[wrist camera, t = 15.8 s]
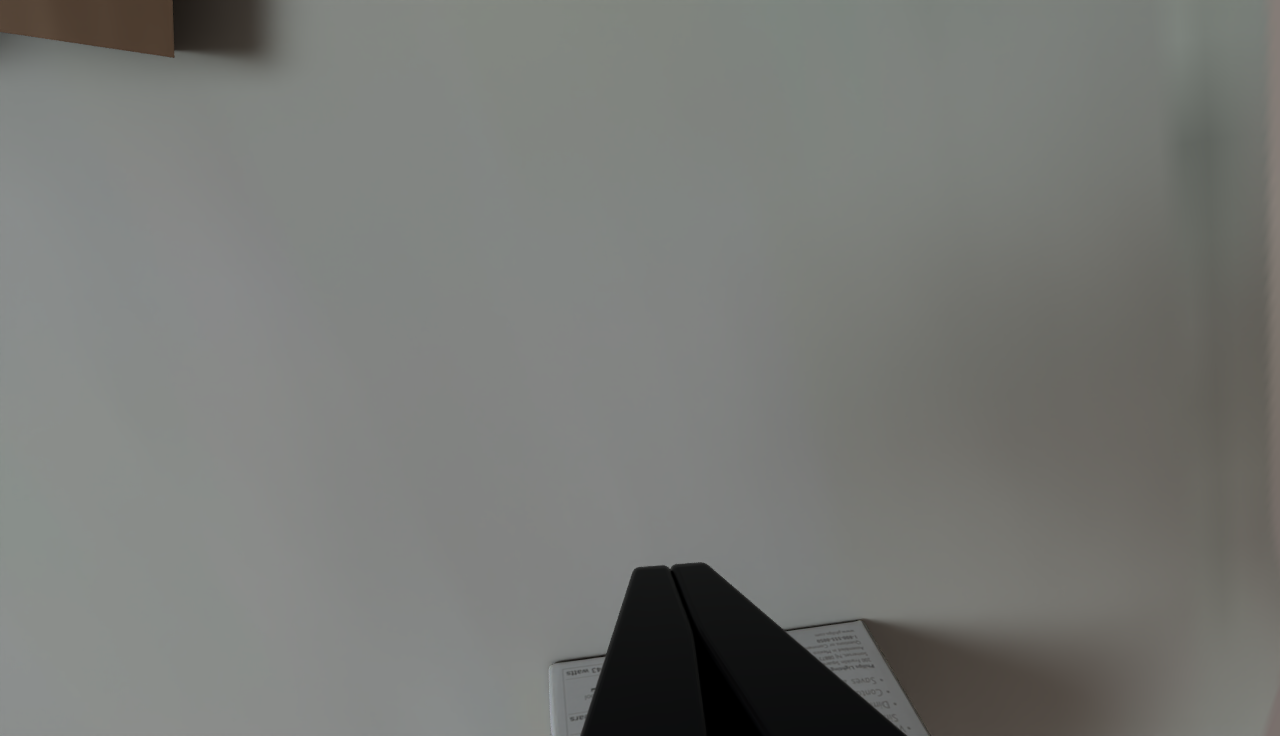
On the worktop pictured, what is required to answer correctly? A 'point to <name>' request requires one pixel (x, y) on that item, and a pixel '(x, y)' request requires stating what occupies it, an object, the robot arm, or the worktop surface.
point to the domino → (95, 23)
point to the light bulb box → (833, 645)
